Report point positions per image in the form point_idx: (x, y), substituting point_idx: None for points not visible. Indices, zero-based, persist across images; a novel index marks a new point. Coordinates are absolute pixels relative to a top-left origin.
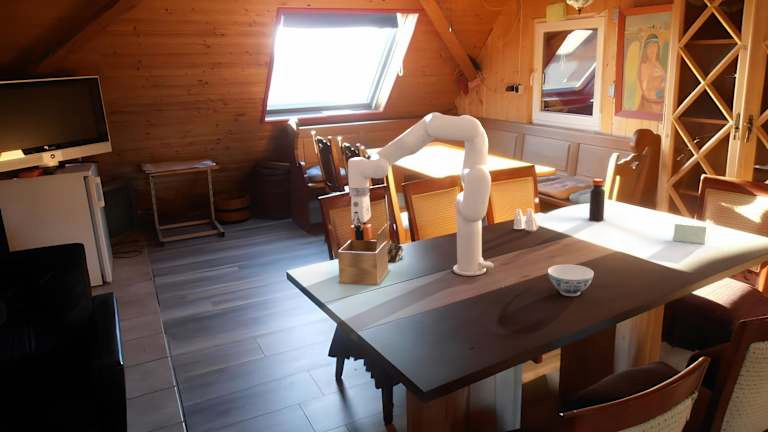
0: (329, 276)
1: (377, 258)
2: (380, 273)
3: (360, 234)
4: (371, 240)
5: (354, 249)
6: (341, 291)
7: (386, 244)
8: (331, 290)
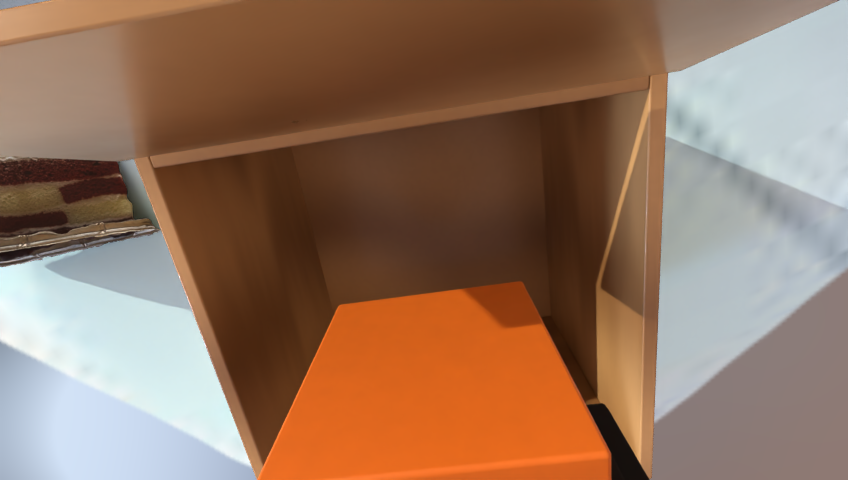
0: None
1: None
2: None
3: (631, 453)
4: (211, 334)
5: None
6: (680, 253)
7: None
8: (672, 308)
